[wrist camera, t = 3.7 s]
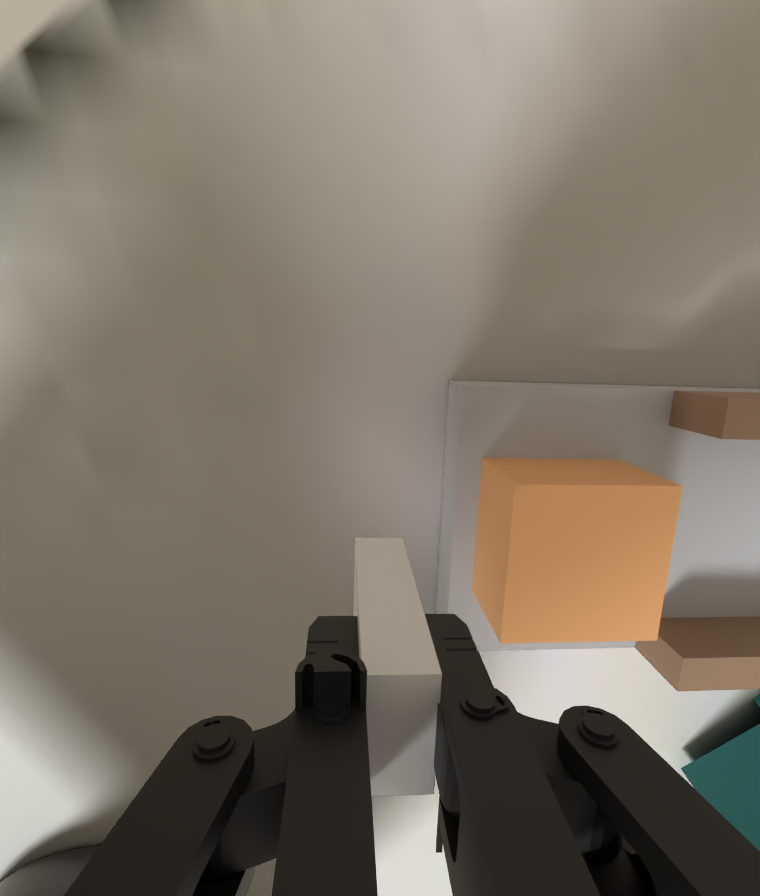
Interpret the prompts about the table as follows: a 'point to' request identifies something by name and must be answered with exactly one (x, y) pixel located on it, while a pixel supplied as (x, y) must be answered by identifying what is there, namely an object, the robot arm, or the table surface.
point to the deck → (654, 450)
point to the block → (572, 549)
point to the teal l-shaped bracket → (732, 781)
